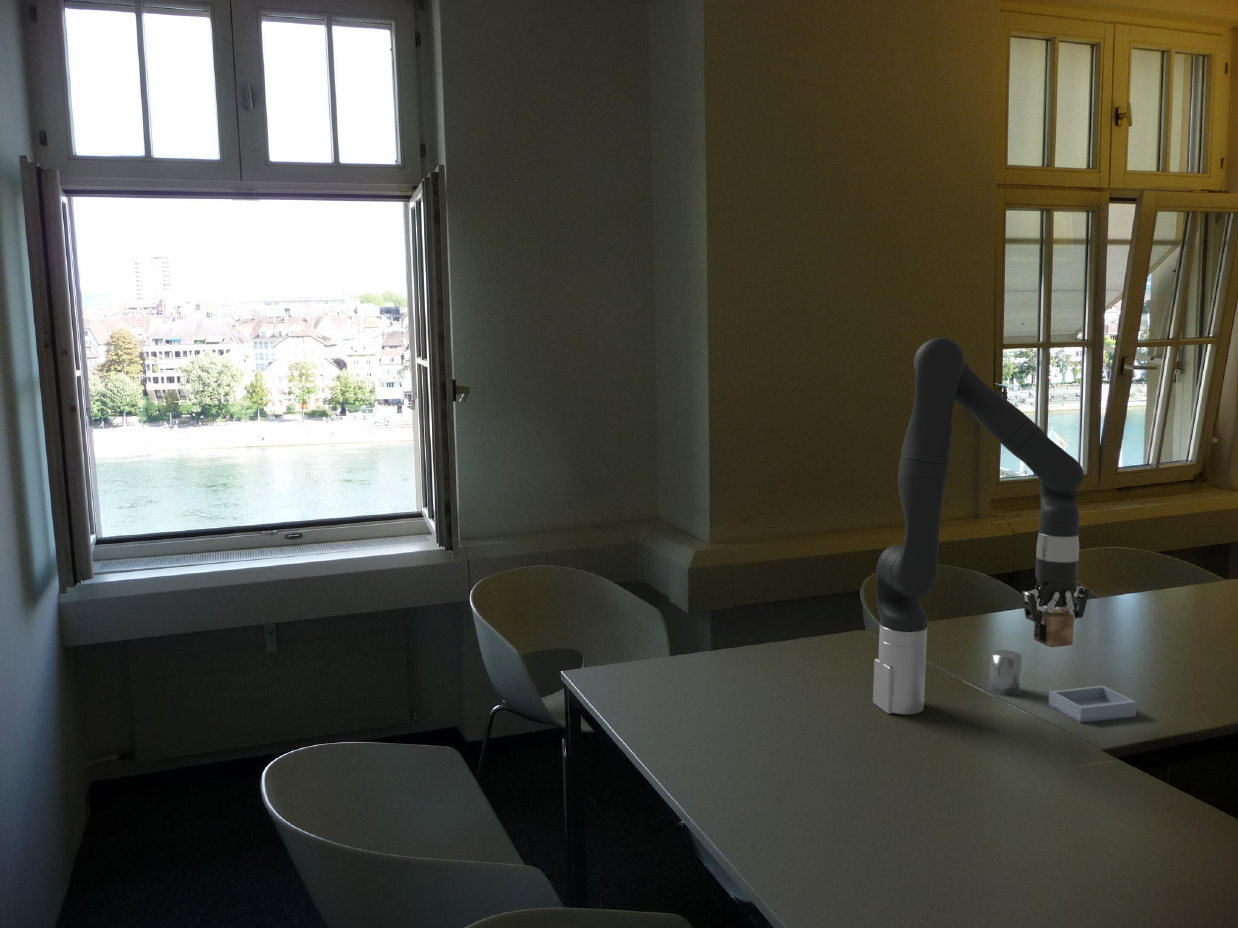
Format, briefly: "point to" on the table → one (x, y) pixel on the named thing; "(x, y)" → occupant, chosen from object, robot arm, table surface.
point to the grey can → (1005, 672)
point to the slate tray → (1092, 704)
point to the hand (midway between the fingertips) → (1053, 639)
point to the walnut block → (1059, 629)
